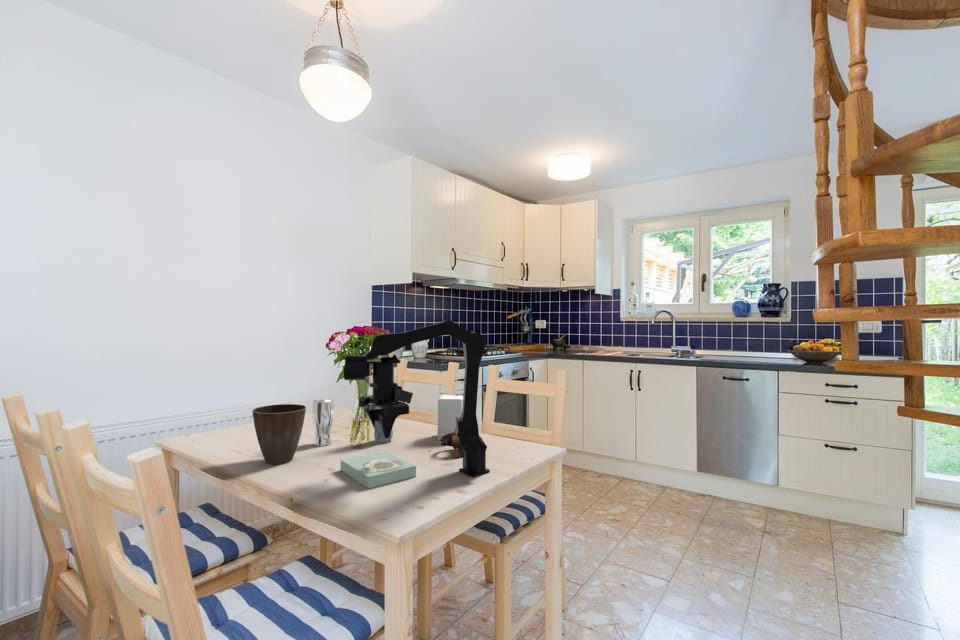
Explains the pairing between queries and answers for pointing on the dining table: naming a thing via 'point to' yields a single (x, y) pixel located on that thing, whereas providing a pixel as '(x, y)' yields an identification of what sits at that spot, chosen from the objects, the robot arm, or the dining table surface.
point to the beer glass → (323, 421)
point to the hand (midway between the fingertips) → (383, 436)
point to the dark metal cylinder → (380, 434)
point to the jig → (378, 469)
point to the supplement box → (448, 413)
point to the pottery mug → (453, 444)
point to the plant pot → (279, 431)
